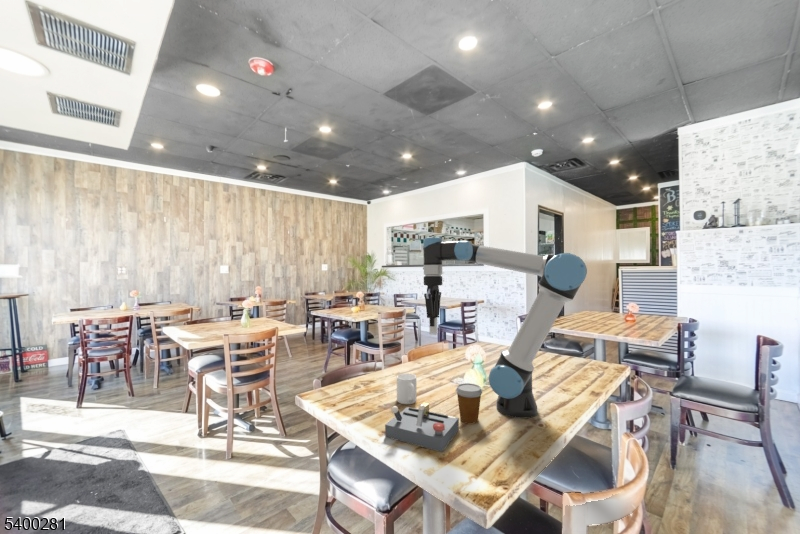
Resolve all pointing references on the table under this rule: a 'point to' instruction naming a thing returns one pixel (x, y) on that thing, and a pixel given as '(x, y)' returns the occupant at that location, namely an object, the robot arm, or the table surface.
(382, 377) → the table surface
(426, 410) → the brass slider
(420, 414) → the steel lever
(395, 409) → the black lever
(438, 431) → the red button
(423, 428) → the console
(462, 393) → the disposable coffee cup
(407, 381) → the mug
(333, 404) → the table surface
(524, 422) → the table surface
